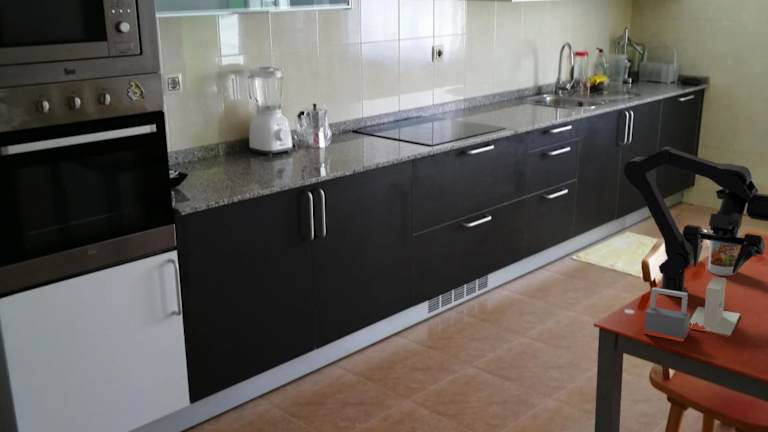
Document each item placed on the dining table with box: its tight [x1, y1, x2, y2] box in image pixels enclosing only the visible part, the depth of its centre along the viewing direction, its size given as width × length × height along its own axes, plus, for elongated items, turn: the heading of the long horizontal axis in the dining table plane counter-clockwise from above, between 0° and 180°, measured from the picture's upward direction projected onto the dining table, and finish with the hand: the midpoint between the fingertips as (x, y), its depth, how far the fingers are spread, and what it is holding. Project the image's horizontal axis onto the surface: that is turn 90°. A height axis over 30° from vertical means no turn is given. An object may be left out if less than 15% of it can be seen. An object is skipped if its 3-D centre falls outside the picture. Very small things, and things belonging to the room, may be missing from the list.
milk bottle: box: [707, 204, 741, 277], centre depth 227 cm, size 8×8×20 cm
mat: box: [690, 306, 741, 336], centre depth 196 cm, size 14×10×1 cm
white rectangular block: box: [703, 276, 727, 327], centre depth 194 cm, size 8×3×10 cm, turn 147°
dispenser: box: [644, 287, 691, 339], centre depth 189 cm, size 6×9×11 cm, turn 58°
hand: (713, 269), depth 196 cm, fingers open, 9 cm apart
